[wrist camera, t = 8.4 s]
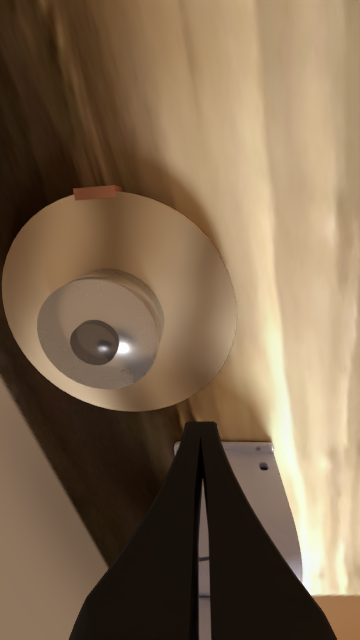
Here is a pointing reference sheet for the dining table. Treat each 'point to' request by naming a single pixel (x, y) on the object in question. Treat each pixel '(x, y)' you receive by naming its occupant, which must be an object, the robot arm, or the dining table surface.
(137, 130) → the dining table surface
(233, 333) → the turntable
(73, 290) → the cover
